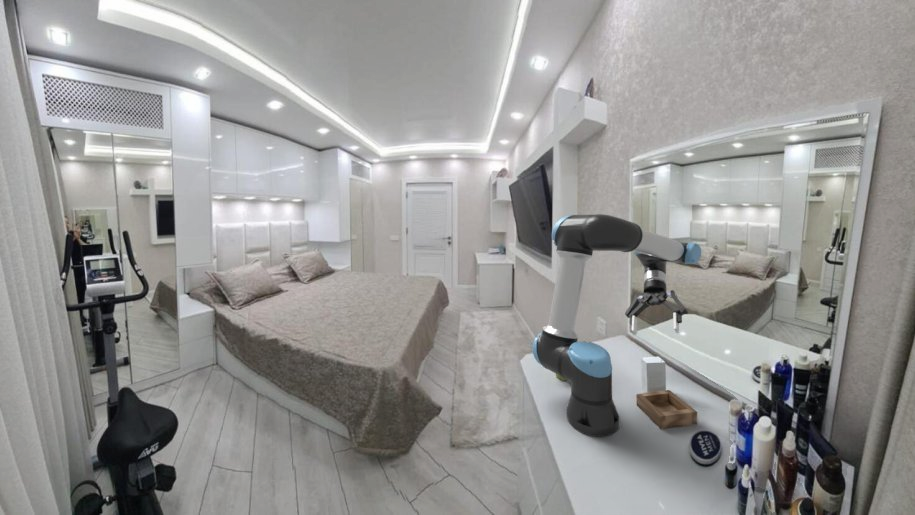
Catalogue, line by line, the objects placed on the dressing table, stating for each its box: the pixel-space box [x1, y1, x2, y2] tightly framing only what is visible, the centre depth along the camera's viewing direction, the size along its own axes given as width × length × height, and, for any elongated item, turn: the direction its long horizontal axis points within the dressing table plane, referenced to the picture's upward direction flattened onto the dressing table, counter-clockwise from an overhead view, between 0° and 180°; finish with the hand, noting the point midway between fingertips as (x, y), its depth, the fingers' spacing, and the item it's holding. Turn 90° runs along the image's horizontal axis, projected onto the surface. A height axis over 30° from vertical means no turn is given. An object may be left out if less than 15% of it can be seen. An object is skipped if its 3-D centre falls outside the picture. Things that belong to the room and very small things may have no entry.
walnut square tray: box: [636, 389, 698, 430], centre depth 95 cm, size 11×11×4 cm
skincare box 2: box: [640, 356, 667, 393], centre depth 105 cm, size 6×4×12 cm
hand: (654, 331), depth 111 cm, fingers open, 13 cm apart
